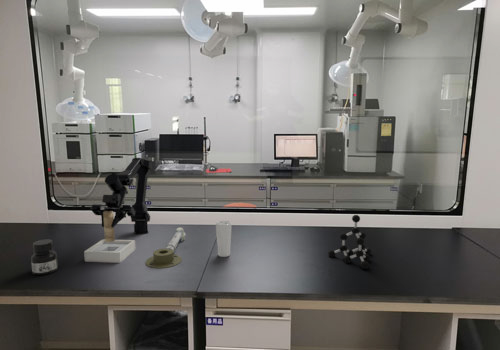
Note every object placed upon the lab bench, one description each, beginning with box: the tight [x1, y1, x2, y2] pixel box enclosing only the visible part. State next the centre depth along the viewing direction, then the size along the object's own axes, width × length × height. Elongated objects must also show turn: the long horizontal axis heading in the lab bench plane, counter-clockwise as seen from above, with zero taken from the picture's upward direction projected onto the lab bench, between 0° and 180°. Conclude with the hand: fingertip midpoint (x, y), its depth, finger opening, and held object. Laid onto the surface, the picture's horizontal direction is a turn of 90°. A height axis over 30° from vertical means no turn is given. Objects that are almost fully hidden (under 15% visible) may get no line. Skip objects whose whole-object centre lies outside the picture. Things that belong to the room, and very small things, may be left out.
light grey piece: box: [164, 227, 186, 252], centre depth 166 cm, size 5×7×25 cm
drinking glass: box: [215, 220, 232, 258], centre depth 154 cm, size 7×7×15 cm
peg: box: [103, 211, 116, 242], centre depth 153 cm, size 4×4×13 cm
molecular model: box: [327, 214, 372, 270], centre depth 150 cm, size 18×20×20 cm
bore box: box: [83, 238, 136, 264], centre depth 155 cm, size 16×16×4 cm
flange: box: [145, 247, 183, 269], centre depth 148 cm, size 5×15×15 cm
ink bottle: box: [30, 238, 59, 276], centre depth 138 cm, size 10×9×12 cm
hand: (107, 227), depth 152 cm, fingers closed on peg, 4 cm apart
